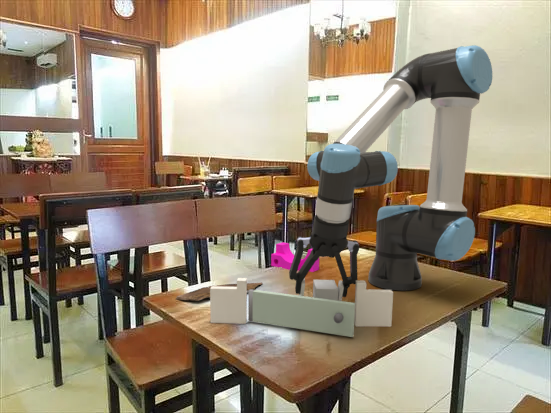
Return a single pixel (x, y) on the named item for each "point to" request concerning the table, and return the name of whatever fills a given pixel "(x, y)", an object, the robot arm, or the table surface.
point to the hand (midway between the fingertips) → (318, 306)
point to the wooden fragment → (205, 292)
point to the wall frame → (368, 305)
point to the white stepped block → (325, 289)
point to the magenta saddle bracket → (289, 258)
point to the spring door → (302, 312)
